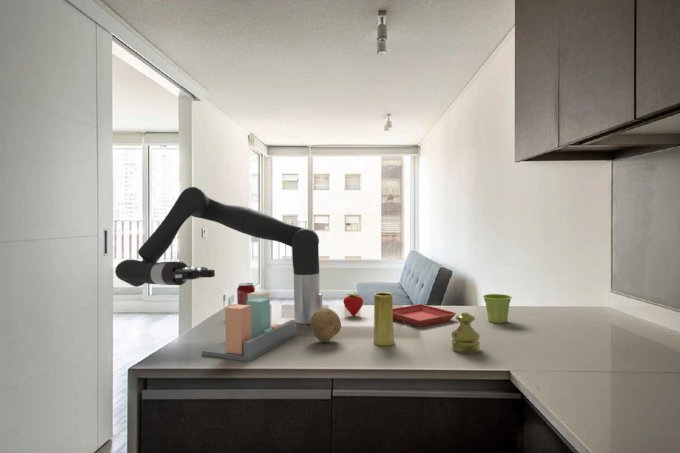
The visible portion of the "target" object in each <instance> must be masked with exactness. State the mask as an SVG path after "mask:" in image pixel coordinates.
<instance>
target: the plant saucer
mask: <svg viewBox="0 0 680 453" xmlns="http://www.w3.org/2000/svg"><path fill="white" fill-rule="evenodd" d="M456 315H457V313H456V312H454V311H451V310H447V309H441V308H438V307H433V306H431V305H426V304H422V303H420V304H413V305H407V306H401V307H395V308H394V307H393V320H396V321H399V322H402V323H405V324H408V325H409V324H410V325H412V326H414V327H415V326H416V327H418V328H419V327H420V328H421V327H425V326H430V325H434V324H435V325H436V324H440V323H445V322H449V321H450V320H452V319H453V318H454V317H456Z"/></svg>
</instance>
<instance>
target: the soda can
mask: <svg viewBox="0 0 680 453" xmlns="http://www.w3.org/2000/svg"><path fill="white" fill-rule="evenodd" d="M252 292H256V287H255V286H254V283H252V282H242V283H239V284H238V286H237V288H236V294H237V296H236V297H237V298H236V300H237V301H236V302H237V304H239V305H246V301H247V300H248V294H249V293H252Z"/></svg>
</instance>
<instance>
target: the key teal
mask: <svg viewBox="0 0 680 453" xmlns="http://www.w3.org/2000/svg"><path fill="white" fill-rule="evenodd" d="M270 301H271V300H270V298H269V299H264V298H253V299H250V300H247V301H246V305H251V339H252V338H254V337H256V336H258V335H260V334H262V333H264V330H266V329H268V328H271V309H270V308H271V302H270Z"/></svg>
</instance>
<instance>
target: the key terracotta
mask: <svg viewBox="0 0 680 453" xmlns="http://www.w3.org/2000/svg"><path fill="white" fill-rule="evenodd" d="M224 314H225V316H224V317H225V318H224V320H225V321H224V322H225V324H224V325H225V327H224V328H225V341H226V353H234V354H244V342H245V341H248V340H250V339H251V305H239V304H231V305H229V306H226V307H224Z"/></svg>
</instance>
